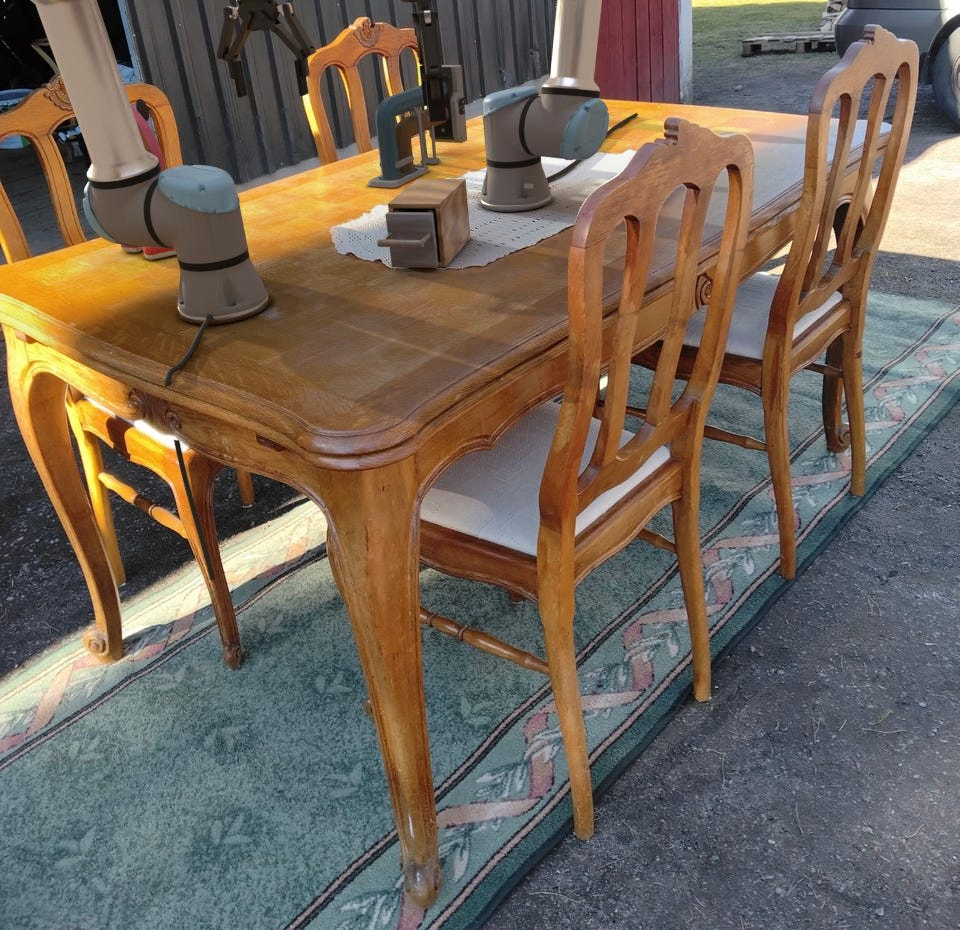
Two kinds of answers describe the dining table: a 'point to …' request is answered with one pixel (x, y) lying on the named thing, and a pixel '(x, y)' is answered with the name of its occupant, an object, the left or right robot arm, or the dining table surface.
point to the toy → (153, 148)
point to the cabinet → (440, 211)
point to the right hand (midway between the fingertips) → (434, 112)
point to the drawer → (412, 237)
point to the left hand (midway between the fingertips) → (273, 95)
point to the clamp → (417, 129)
